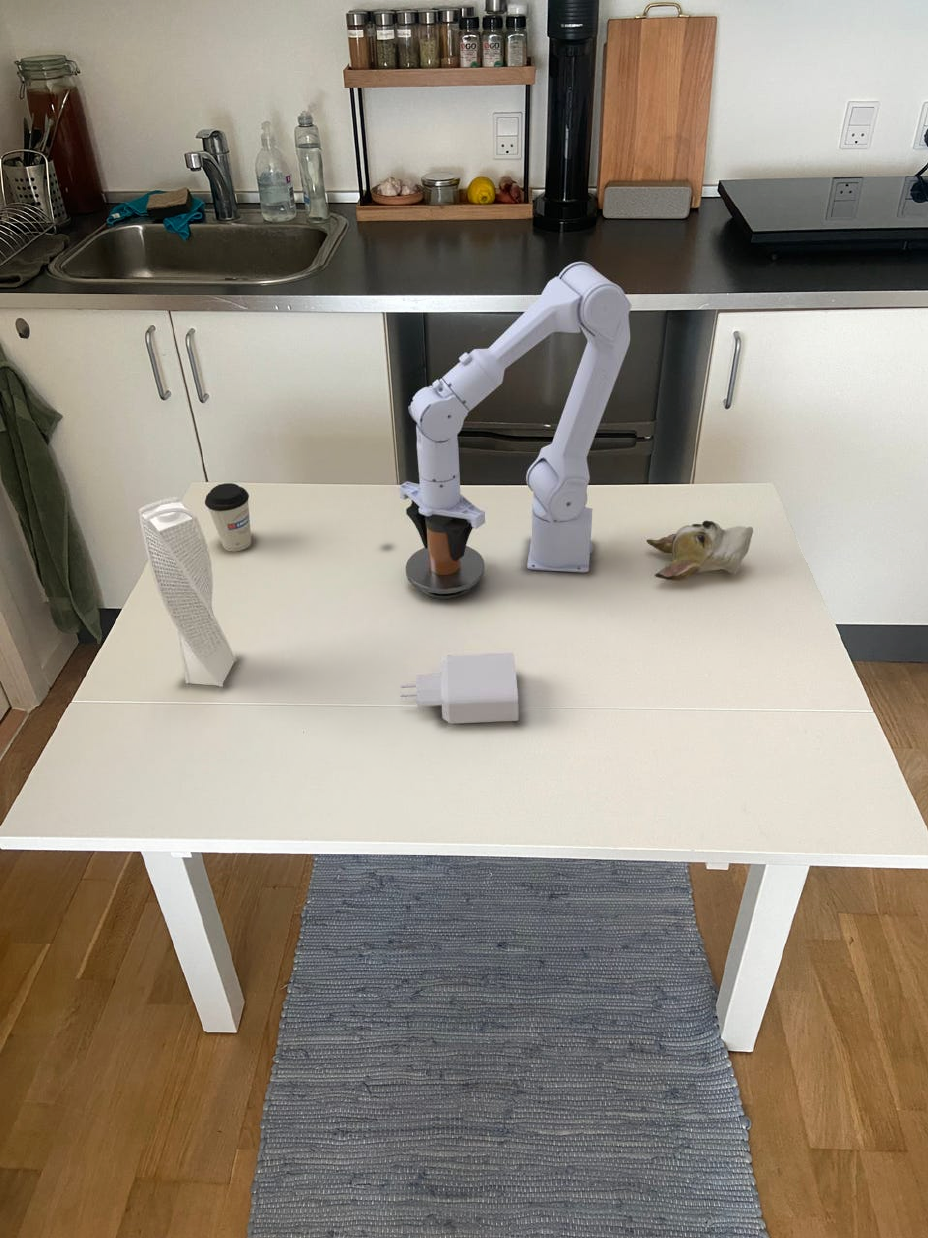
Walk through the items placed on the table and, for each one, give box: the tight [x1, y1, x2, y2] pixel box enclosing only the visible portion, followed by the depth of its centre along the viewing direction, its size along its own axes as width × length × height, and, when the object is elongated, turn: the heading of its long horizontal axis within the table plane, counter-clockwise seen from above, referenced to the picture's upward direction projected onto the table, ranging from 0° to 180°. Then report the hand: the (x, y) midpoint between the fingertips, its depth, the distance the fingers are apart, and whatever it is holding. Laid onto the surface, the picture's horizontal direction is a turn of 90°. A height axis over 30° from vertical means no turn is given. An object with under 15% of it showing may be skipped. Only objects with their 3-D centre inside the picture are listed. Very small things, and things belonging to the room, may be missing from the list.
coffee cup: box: [204, 482, 252, 552], centre depth 151 cm, size 7×7×10 cm
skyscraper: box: [137, 496, 237, 688], centre depth 120 cm, size 8×8×28 cm
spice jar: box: [425, 514, 461, 575], centre depth 139 cm, size 5×5×9 cm
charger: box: [400, 652, 519, 724], centre depth 121 cm, size 5×9×15 cm
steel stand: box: [405, 545, 486, 600], centre depth 142 cm, size 12×12×3 cm
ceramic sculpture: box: [646, 520, 754, 582], centre depth 141 cm, size 11×9×15 cm
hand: (444, 551), depth 140 cm, fingers closed on spice jar, 5 cm apart
